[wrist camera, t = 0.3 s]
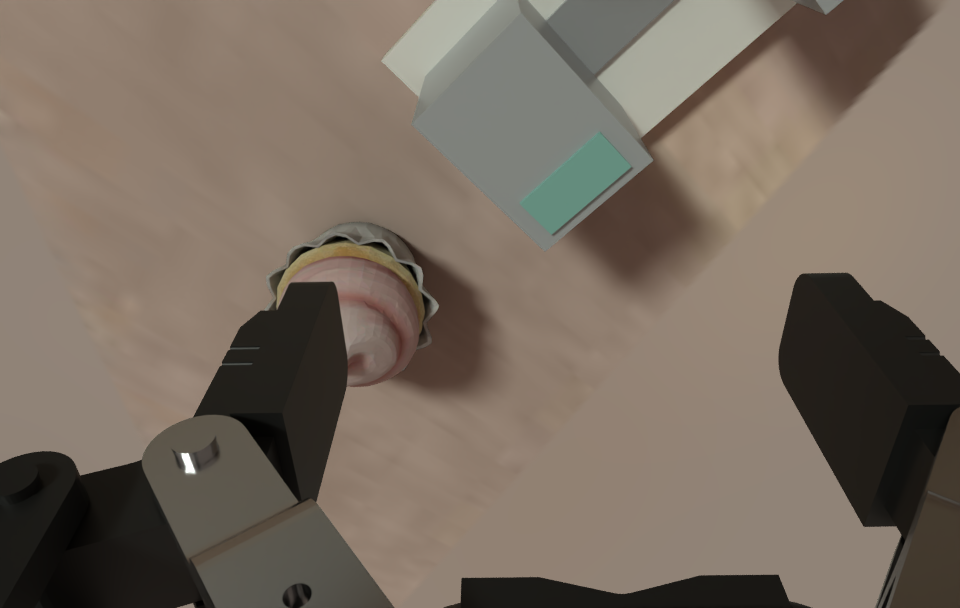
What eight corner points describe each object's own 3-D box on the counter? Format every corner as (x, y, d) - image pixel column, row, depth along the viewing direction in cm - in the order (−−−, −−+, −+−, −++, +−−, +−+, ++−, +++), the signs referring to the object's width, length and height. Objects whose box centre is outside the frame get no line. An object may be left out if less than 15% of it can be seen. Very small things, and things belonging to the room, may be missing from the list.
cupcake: (353, 358, 46) (323, 470, 38) (251, 250, 42) (192, 346, 34) (473, 288, 44) (471, 390, 35) (377, 164, 40) (348, 246, 31)
